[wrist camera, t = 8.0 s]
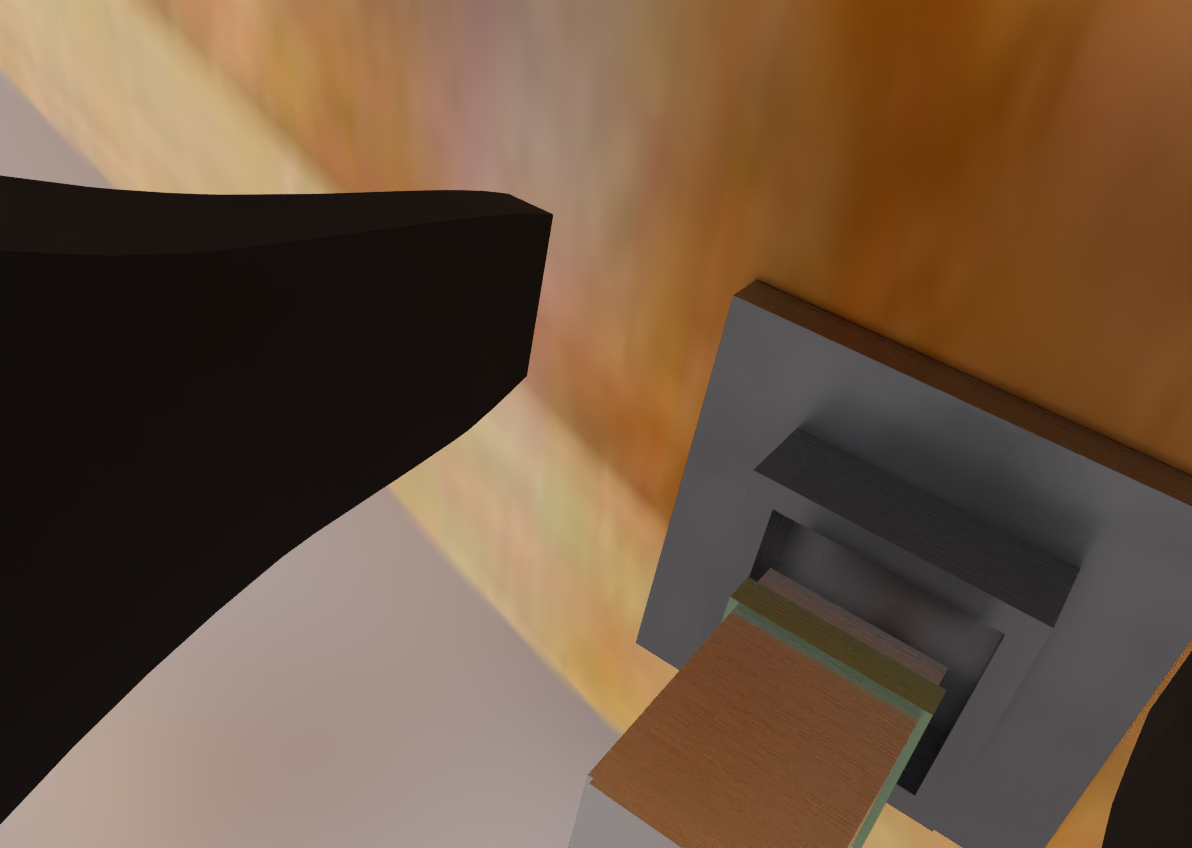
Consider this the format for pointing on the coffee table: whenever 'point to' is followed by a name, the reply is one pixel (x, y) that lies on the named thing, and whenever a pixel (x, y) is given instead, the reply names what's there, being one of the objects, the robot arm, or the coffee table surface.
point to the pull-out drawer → (767, 733)
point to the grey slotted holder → (936, 553)
